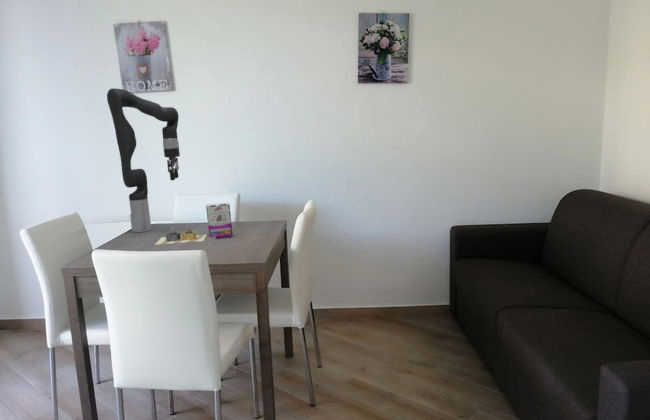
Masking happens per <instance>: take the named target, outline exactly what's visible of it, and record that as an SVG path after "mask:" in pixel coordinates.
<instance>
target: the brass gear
mask: <svg viewBox="0 0 650 420" xmlns="http://www.w3.org/2000/svg"><path fill="white" fill-rule="evenodd" d="M197 235H198V234H197V231H194V230H191V233H186V231H183V232H182V233H181V236H182V240H192V239H196V238H197Z"/></svg>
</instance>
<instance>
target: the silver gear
mask: <svg viewBox="0 0 650 420" xmlns="http://www.w3.org/2000/svg"><path fill="white" fill-rule="evenodd" d="M181 236H182V234H181V232H179V231H175V234H173V235H171V233H170V232H169V233H166V234H165V237H166V241H169V242H171V241H177V240H180V239H181Z"/></svg>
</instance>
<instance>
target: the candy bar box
mask: <svg viewBox="0 0 650 420" xmlns="http://www.w3.org/2000/svg"><path fill="white" fill-rule="evenodd" d="M205 210H206V217H207V227H208V235H209V237H210V238H212V237H215V239H221V238H223V239H224V238H230V237H233V226H232V218H231V216H232V215H231V205H230V203H229V202H221V203H220V202H219V203H212V204H206V205H205Z"/></svg>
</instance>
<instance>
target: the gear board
mask: <svg viewBox="0 0 650 420" xmlns="http://www.w3.org/2000/svg"><path fill="white" fill-rule="evenodd" d="M185 229H186V230H185V232H186V233H191V231H192V227H191V225H187V226H185ZM175 232H176V227H175V226H171V227H169V233H171V235H173V234H175ZM196 235H197V238H196V239H192V240H182V235H181V239H180V240H177V241H171V242H169V241H166V236H165V237H164V236H163V237H162V236H161V237H160V238H159V239H158V241H156V242H155V243H154V246H155V245H156V246H158V245H165V244H166V245H168V244H169V245H170V244H180V243H194V242H195V243H196V242H204V240H205V238H206V236H207V235H208V234H206V233H205V234H196Z"/></svg>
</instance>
